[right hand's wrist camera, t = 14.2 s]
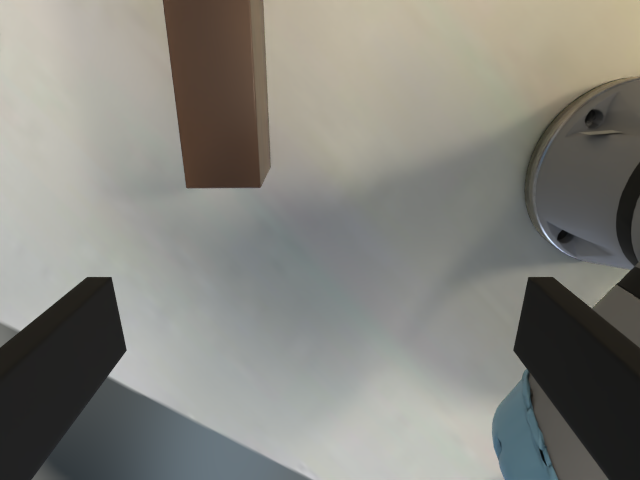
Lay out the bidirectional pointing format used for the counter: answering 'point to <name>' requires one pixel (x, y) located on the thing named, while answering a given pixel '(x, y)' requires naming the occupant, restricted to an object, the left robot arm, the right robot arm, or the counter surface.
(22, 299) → the counter surface
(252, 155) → the walnut beam
